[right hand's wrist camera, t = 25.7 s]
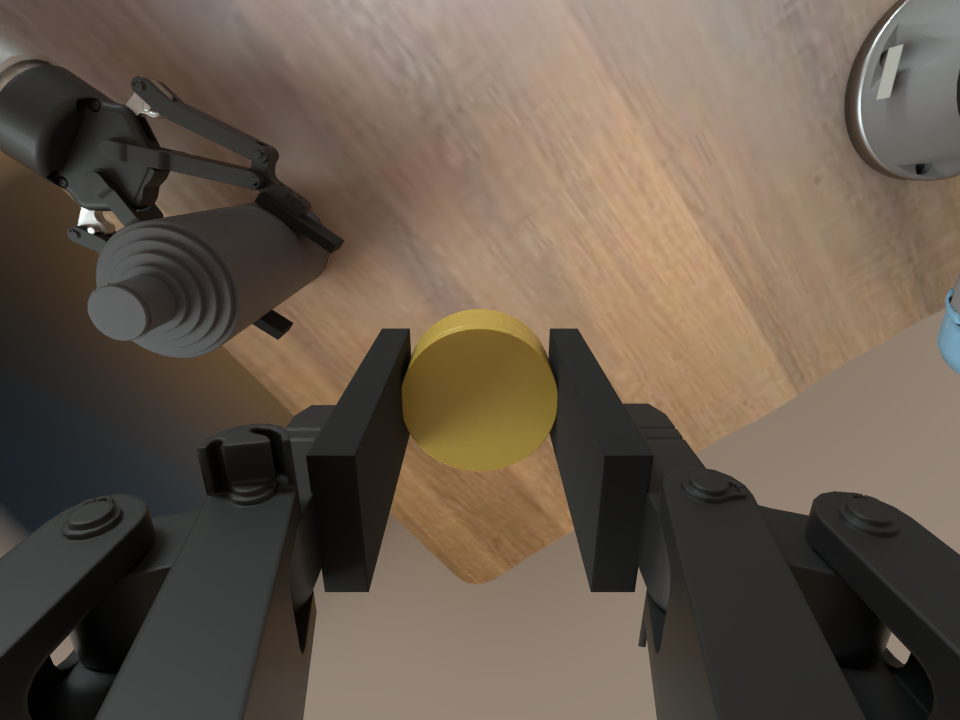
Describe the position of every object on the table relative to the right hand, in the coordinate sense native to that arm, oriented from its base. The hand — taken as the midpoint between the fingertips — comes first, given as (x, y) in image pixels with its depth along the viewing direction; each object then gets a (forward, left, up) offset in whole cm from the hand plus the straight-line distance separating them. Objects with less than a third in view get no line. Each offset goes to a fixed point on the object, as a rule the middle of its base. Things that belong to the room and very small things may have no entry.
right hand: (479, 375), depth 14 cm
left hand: (+4, +13, -28) cm, 31 cm away
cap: (0, 0, +2) cm, 2 cm away
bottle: (+9, +15, -34) cm, 38 cm away
